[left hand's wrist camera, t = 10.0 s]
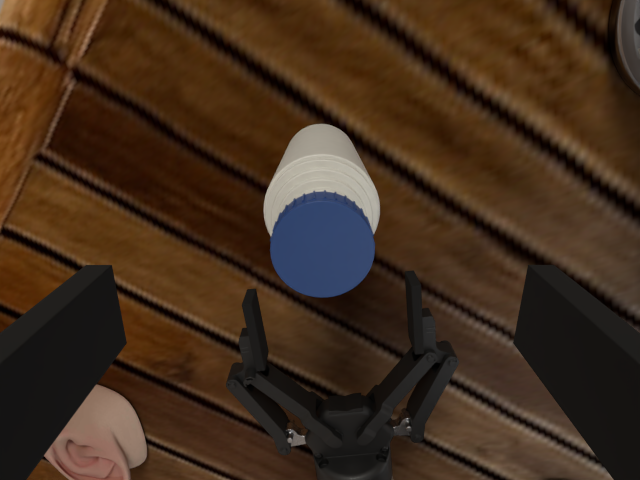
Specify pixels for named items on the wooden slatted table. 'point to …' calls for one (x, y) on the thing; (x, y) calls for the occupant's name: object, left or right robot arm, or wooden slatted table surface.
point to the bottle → (321, 173)
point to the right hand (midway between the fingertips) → (330, 286)
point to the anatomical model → (100, 439)
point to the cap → (322, 244)
